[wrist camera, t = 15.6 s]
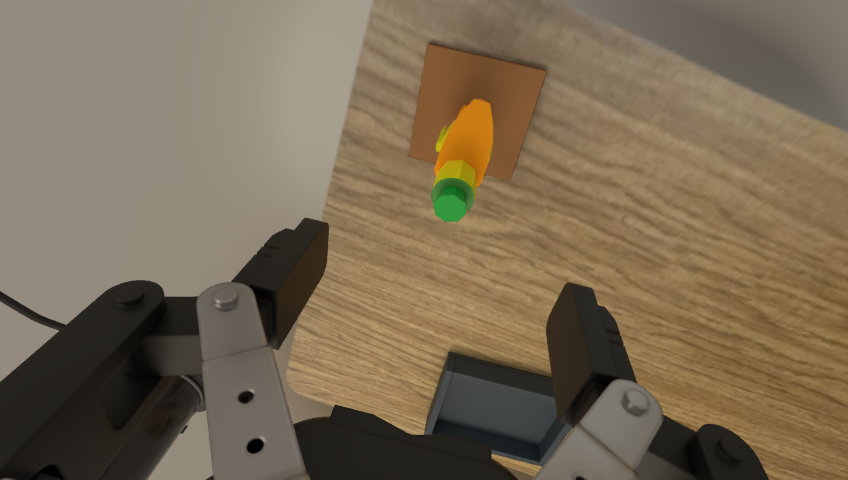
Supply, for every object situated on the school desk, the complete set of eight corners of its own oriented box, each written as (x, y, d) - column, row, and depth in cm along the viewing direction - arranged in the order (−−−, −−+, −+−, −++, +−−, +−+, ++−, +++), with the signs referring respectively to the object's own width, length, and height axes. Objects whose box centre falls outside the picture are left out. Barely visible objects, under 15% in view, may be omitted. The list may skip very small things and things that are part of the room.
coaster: (409, 154, 31) (408, 156, 31) (428, 43, 26) (427, 44, 26) (509, 178, 31) (510, 181, 30) (546, 70, 26) (547, 71, 26)
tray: (426, 417, 49) (423, 436, 47) (448, 351, 42) (446, 370, 40) (542, 447, 49) (543, 467, 47) (583, 385, 42) (587, 406, 40)
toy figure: (461, 61, 26) (438, 110, 16) (513, 77, 26) (521, 135, 16) (435, 154, 30) (403, 240, 20) (480, 168, 30) (471, 260, 20)
